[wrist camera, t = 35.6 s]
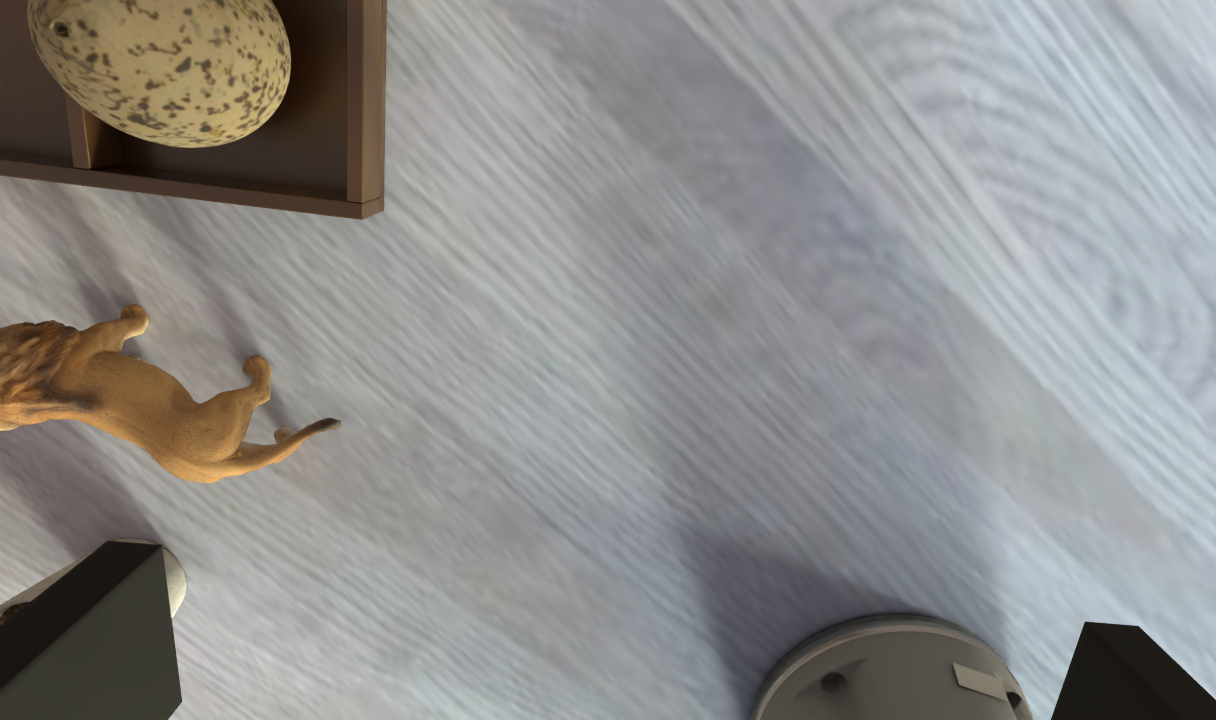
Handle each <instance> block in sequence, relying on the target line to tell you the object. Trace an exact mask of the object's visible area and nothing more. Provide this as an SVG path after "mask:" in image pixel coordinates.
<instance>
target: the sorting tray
mask: <svg viewBox="0 0 1216 720" xmlns="http://www.w3.org/2000/svg"><path fill="white" fill-rule="evenodd" d="M271 1H272V2H273V4H274V5H275V7H276V9H277V11H278V13H279V15H280V17H281V20H282V22H283V24H284V27H285V30H286V33H287V37H288V41H289V46H290V55H291V71H290V79H289V83H288V86H287V90H286V93H285V95H284V97H283V100H282V101H281V103H280V105H279V107H278V108H277V109H276V111H275V112H274V113H273V114H272V116H271V117H270V118H269V119H268V120H267V121H266V122H265V123H264V124H262V125H261V126H260V127H259V128H258V129H256V130H255V131H253V132H252V133H250V134H248V135H247V136H245V137H243V138H240V139H238V140H236V141H233V142H229V143H226V144H222V145H218V146H212V147H202V148H185V147H174V146H168V145H162V144H158V143H154V142H150V141H147V140H143V139H141V138H138V137H135V136H132V135H130V134H127V133H125V132H123V131H121V130H119V129H117V128H115V127H113V126H111V125H109V124H107V123H106V122H104V121H103V120H101V119H100V118H98V117H96V116H95V115H93V114H92V113H90V112H89V111H88V110H86V109H85V108H84V107H83V106H81V105H80V104H79V103H78V102H77V101H75V100H74V99H73V98H72V97H71V96H70V95H69V94H68V93H67V92H66V91H65V90H64V89H63V88H62V87H61V86H60V85H59V84H58V82H57V81H56V80H55V79H54V78H53V76H52V75H51V74H50V72H49V71H48V70H47V68H46V67H45V65H44V64H43V62H42V61H41V59H40V57H39V55H38V53H37V51H36V48H35V46H34V44H33V41H32V39H31V34H30V30H29V26H28V19H27V9H28V0H0V176H8V177H16V178H25V179H33V180H41V181H49V182H57V183H65V184H74V185H82V186H90V187H98V188H106V189H115V190H123V191H131V192H139V193H147V194H155V195H164V196H172V197H180V198H188V199H196V200H204V201H213V202H221V203H229V204H237V205H245V206H254V207H262V208H270V209H278V210H286V211H294V212H303V213H311V214H319V215H327V216H335V217H343V218H352V219H360V220H362V219H365V218H367V217H370V216H372V215H375V214H377V213H380V212H382V211H384V157H385V82H386V7H387V0H271Z"/></svg>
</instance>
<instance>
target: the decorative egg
mask: <svg viewBox="0 0 1216 720" xmlns="http://www.w3.org/2000/svg"><path fill="white" fill-rule="evenodd" d="M27 19H28V26H29V30H30V34H31V39H32V41H33V44H34V46H35V48H36V51H37V53H38V55H39V57H40V59H41V61H42V62H43V64H44V65H45V67H46V68H47V70H48V71H49V72H50V74H51V75H52V76H53V78H54V79H55V80H56V81H57V82H58V84H59V85H60V86H61V87H62V88H63V89H64V90H65V91H66V92H67V93H68V94H69V95H70V96H71V97H72V98H73V99H74V100H75V101H77V102H78V103H79V104H80V105H81V106H83V107H84V108H85V109H86V110H88V111H89V112H90V113H92V114H93V115H95V116H96V117H98V118H100V119H101V120H103V121H104V122H106V123H107V124H109V125H111V126H113V127H115V128H117V129H119V130H121V131H123V132H125V133H127V134H130V135H132V136H135V137H138V138H141V139H143V140H147V141H150V142H154V143H158V144H162V145H168V146H174V147H185V148H202V147H212V146H218V145H222V144H226V143H229V142H233V141H236V140H238V139H240V138H243V137H245V136H247V135H248V134H250V133H252V132H253V131H255V130H256V129H258V128H259V127H260V126H261V125H262V124H264V123H265V122H266V121H267V120H268V119H269V118H270V117H271V116H272V114H273V113H274V112H275V111H276V109H277V108H278V107H279V105H280V103H281V101H282V100H283V97H284V95H285V93H286V90H287V86H288V83H289V79H290V71H291V55H290V46H289V41H288V37H287V33H286V30H285V27H284V24H283V22H282V20H281V17H280V15H279V13H278V11H277V9H276V7H275V5H274V4H273V2H272V1H271V0H28V9H27Z"/></svg>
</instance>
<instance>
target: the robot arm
mask: <svg viewBox="0 0 1216 720" xmlns="http://www.w3.org/2000/svg"><path fill="white" fill-rule="evenodd" d="M181 702H182V696H181V689H180V681H179V673H178V665H177V657H176V649H175V642H174V634H173V626H172V618H171V610H170V602H169V595H168V587H167V579H166V571H165V563H164V555H163V548H162V545H156V544H144V543H131V542H119V541H107V542H105V543H104V544H103V545H102V546H100V547H99V548H98V549H97V550H95V551H94V552H93V553H91V554H90V555H89V556H88V557H86V558H85V559H84V560H83V561H81V562H80V563H79V564H78V565H76V566H75V567H74V568H72V569H71V570H70V571H69V572H67V573H66V574H65V575H64V576H62V577H61V578H60V579H59V580H57V581H56V582H55V583H54V584H52V585H51V586H50V587H48V588H47V589H46V590H45V591H43V592H42V593H41V594H40V595H38V596H37V597H36V598H35V599H33V600H32V601H31V602H29V603H28V604H27V605H26V606H24V607H23V608H22V609H21V610H19V611H18V612H17V613H16V614H14V615H13V616H12V617H10V618H9V619H8V620H7V621H5V622H4V623H3V624H2V625H0V720H168V719H169V718H170V716H171V715H172V714H173V713H174V711H175V710H176V709H177V707H178V706H179V705H180V704H181ZM751 720H1034V719H1033V716H1032V713H1031V710H1030V707H1029V705H1028V702H1027V700H1026V698H1025V696H1024V694H1023V692H1022V690H1021V688H1020V686H1019V684H1018V682H1017V681H1016V679H1015V678H1014V676H1013V675H1012V673H1011V672H1010V670H1009V669H1008V667H1007V666H1006V665H1005V663H1004V662H1003V660H1002V659H1001V658H1000V656H999V655H998V654H997V653H996V652H995V650H994V649H992V648H991V647H990V646H989V645H988V644H987V643H986V642H985V641H983V640H982V639H980V638H979V637H978V636H976V635H975V634H973V633H971V632H969V631H968V630H966V629H964V628H962V627H959V626H957V625H955V624H952V623H949V622H946V621H943V620H939V619H935V618H931V617H925V616H918V615H906V614H889V615H878V616H871V617H865V618H860V619H856V620H852V621H848V622H845V623H842V624H839V625H836V626H834V627H832V628H829V629H827V630H825V631H822V632H820V633H819V634H817V635H815V636H813V637H811V638H809V639H808V640H806V641H805V642H803V643H802V644H800V645H799V646H797V647H796V648H795V649H793V650H792V651H791V652H790V653H789V654H787V655H786V656H785V657H784V658H783V659H782V660H781V661H780V662H779V663H778V664H777V665H776V667H775V668H774V669H773V670H772V671H771V673H770V674H769V675H768V677H767V678H766V680H765V682H764V683H763V685H762V687H761V688H760V691H759V693H758V695H757V698H756V701H755V704H754V707H753V712H752V718H751ZM1051 720H1216V700H1215V699H1214V698H1213V697H1212V696H1211V695H1210V694H1209V693H1208V692H1207V691H1206V690H1205V689H1204V688H1203V687H1202V686H1201V685H1199V684H1198V683H1197V682H1196V681H1195V680H1194V679H1193V678H1192V677H1191V676H1190V675H1189V674H1188V673H1187V672H1186V671H1185V670H1184V669H1183V668H1182V667H1181V666H1180V665H1179V664H1178V663H1176V662H1175V661H1174V660H1173V659H1172V658H1171V657H1170V656H1169V655H1168V654H1167V653H1166V652H1165V651H1164V650H1163V649H1162V648H1161V647H1160V646H1159V645H1158V644H1157V643H1156V642H1154V641H1153V640H1152V639H1151V638H1150V637H1149V636H1148V635H1147V634H1146V633H1145V632H1144V631H1143V630H1142V629H1141V628H1140V627H1139V626H1131V625H1119V624H1107V623H1095V622H1085V623H1084V626H1083V629H1082V632H1081V635H1080V637H1079V640H1078V643H1077V646H1076V649H1075V652H1074V655H1073V658H1072V661H1071V663H1070V666H1069V669H1068V672H1067V675H1066V678H1065V681H1064V684H1063V687H1062V689H1061V692H1060V695H1059V698H1058V701H1057V704H1056V707H1055V710H1054V713H1053V715H1052V718H1051Z"/></svg>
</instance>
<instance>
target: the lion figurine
mask: <svg viewBox="0 0 1216 720" xmlns="http://www.w3.org/2000/svg"><path fill="white" fill-rule="evenodd" d="M120 316H121V318H120V319H118V320H115V321H107V322H102V323H98V324H95V325H93V326H91V327H89V328H88V329H86V330H84V331H78V330H77V329H76V328H74V327H71V326H64V324H62V323H58V322H56V321H54V320H51V321H44V322H41V323H38V324H33V323H28V322H24V323H19V324H14V325H11V326H7V327H4V328H0V431H3V430H5V431H9V430H12V429H15V428H17V427H19V426H21V425H30V424H36V423H39V422H44V421H46V420H49V419H57V420H64V419H75V420H78V421H81V422H84V423H87V424H90V425H92V426H95V427H97V428H99V429H101V430H103V431H105V432H107V433H109V434H112V435H114V436H116V437H118V438H121V439H124V440H127V441H130V442H132V443H134V444H136V445H137V446H139V447H141V448H142V449H144V450H145V451H146V452H147V453H148V454H149V455H151V456H152V457H153V459H154V460H155V461H156V462H157V463H158V464H159V465H160V466H161V467H163V468H164V469H165V470H167V471H168V472H170V473H171V474H173V475H175V476H176V477H178V478H181V479H184V480H188V481H194V482H200V483H211V482H215V481H218V480H220V479H222V478H224V477H229V476H236V475H241V474H245V473H248V472H251V471H254V470H257V469H259V468H261V467H264V466H266V465H268V464H270V463H278V462H280V461H282V460H283V459H285V458H286V457H287V456H289V455H290V454H292V453H293V452H294V451H296V450H297V448H298V447H299V446H300V443H302V442H303V441H305V440H306V439H308V438H310V437H312V436H313V435H315V434H316V433H319V432H323V431H327V430H331V429H337V428H339V427H341V426H342V422H341V421H339V420H335V419H333V418H326V419H323V420H320V421H317V422H315V423H313V424H311V425H308V426H307V427H305V428H304V429H302V430H301V431H299V432H297V431H296V430H294V429H293V428H290V427H282V428H281V429H279V430H277V431H276V432H275V433H274V437H275V440H276V443H277V444H273V445H259V444H252V443H245V442H242V441H243V438H244V436H245V434H246V431H247V428H248V425H249V422H250V419H251V415H252V413H253V410H254V409H255V408H256V407H257V406H258V405H260V404H263V403H265V402H267V401H268V400H269V399H270V394H271V393H270V378H271V369H270V366H269V364H268V362H267V361H266V360H265V359H264V358H263V357H261V356H259V355H255V356H251V357H249V358H248V359H247V360H246V362H245V364H244V367H243V372H244V374H245V375H247V376H248V377H249V378H251V379H252V380H253V383H252V384H251V385H250V386H249V387H246V388H242V389H237V390H233V391H227V392H222V393H219V394H217V395H216V396H214V397H213V398H212V399H210V400H208V401H207V402H204V403H202V404H199V403H197V402H195V401H194V400H193V399H192V397H191V396H190V394H189V393H188V392H187V391H186V389H185V388H184V387H183V386H182V385H181V384H180V382H179V381H178V380H177V379H176V378H175V377H173V376H171V375H170V374H168V373H167V372H165V371H164V370H162V369H160V368H158V367H156V366H154V365H152V364H149V363H148V362H147V361H146V360H144V359H142V358H140V357H137V356H124V355H121V354H120V352H121V349H122V345H123V342H124V341H125V340H127V339H128V338H130V337H133V336H137V335H141V334H143V333H144V332H145V328H146V326H147V325H148V323H149V319H148V316H147V313H146V312H145V310H144V309H143V308H142V307H141V306H139V305H136V304H135V305H129V306H126V307H125V308H124V309H123V310H122V311H121V313H120Z"/></svg>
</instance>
